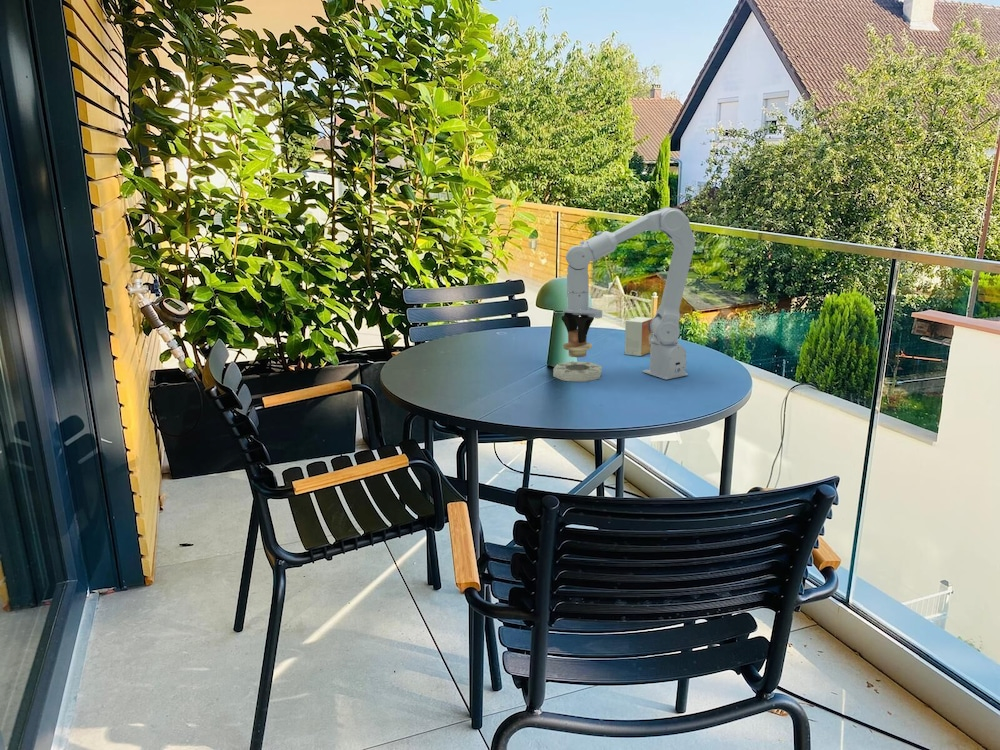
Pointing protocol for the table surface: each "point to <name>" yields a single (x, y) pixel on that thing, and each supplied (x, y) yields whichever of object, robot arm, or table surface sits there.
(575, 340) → the cap
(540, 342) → the table surface
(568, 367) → the flat stone slab
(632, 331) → the small box
